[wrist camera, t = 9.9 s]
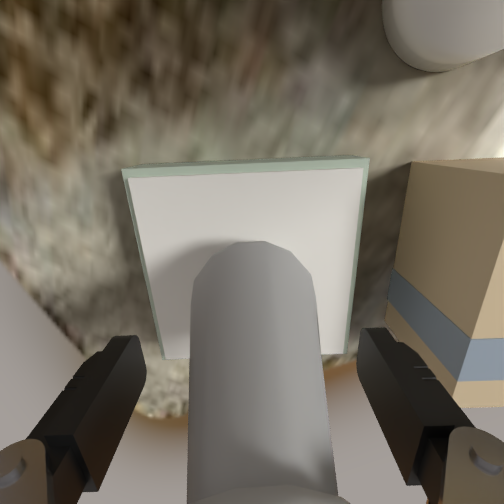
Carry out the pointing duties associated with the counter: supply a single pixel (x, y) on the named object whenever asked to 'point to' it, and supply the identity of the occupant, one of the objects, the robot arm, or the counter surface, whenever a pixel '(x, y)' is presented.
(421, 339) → the kraft carton
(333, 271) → the podium
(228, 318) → the salt shaker
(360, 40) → the counter surface
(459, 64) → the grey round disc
